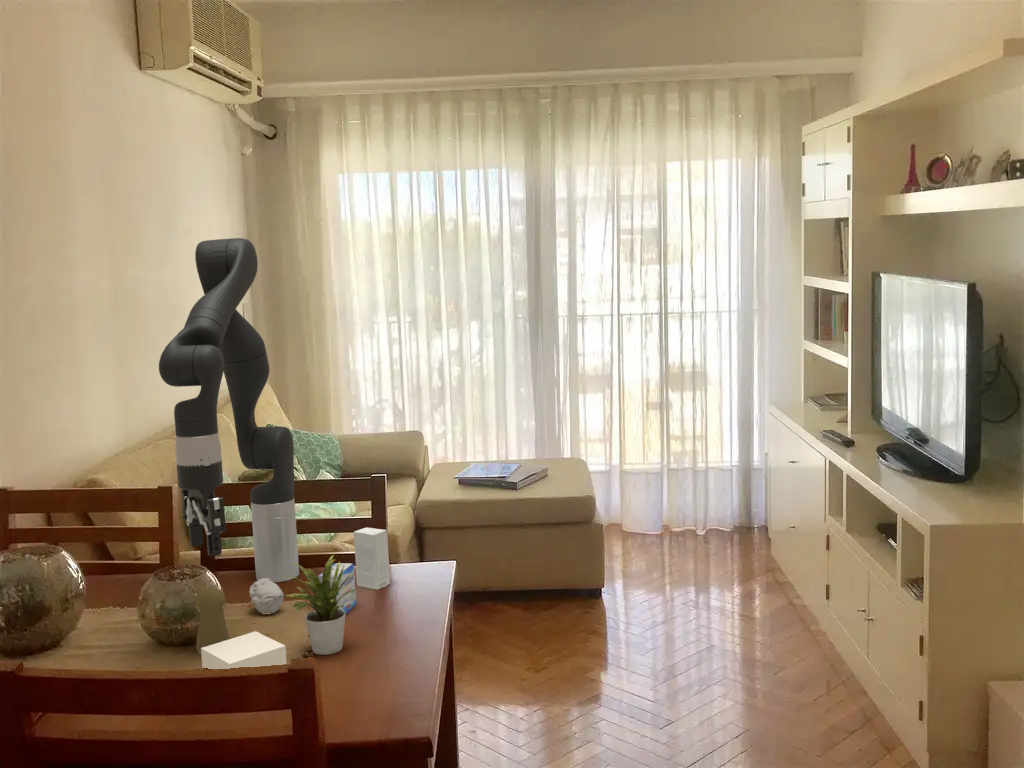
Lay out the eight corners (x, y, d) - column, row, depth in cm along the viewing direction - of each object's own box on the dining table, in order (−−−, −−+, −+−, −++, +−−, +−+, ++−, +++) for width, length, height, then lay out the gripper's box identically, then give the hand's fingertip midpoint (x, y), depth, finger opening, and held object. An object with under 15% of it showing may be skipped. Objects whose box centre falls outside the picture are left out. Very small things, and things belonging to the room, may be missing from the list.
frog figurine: (266, 606, 191) (264, 572, 190) (292, 611, 188) (290, 577, 187) (243, 616, 186) (241, 581, 185) (269, 621, 182) (267, 586, 182)
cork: (200, 644, 172) (195, 586, 171) (234, 642, 172) (230, 583, 171) (192, 658, 166) (187, 597, 165) (227, 655, 166) (222, 594, 165)
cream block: (203, 676, 158) (200, 648, 158) (257, 658, 165) (255, 631, 165) (231, 694, 151) (229, 664, 151) (287, 674, 158) (285, 645, 158)
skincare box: (391, 584, 202) (388, 529, 200) (377, 590, 198) (374, 534, 197) (369, 580, 205) (366, 526, 204) (355, 586, 202) (352, 531, 200)
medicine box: (342, 619, 182) (339, 575, 181) (320, 618, 183) (317, 574, 182) (356, 605, 190) (354, 563, 189) (335, 604, 191) (333, 562, 190)
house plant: (292, 633, 176) (286, 547, 174) (367, 629, 176) (363, 543, 175) (278, 664, 161) (271, 571, 160) (360, 660, 162) (354, 567, 160)
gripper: (163, 457, 169) (170, 546, 170) (192, 468, 157) (199, 563, 159) (205, 451, 173) (211, 538, 175) (235, 461, 162) (242, 554, 164)
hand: (205, 550), depth 167 cm, fingers open, 8 cm apart
